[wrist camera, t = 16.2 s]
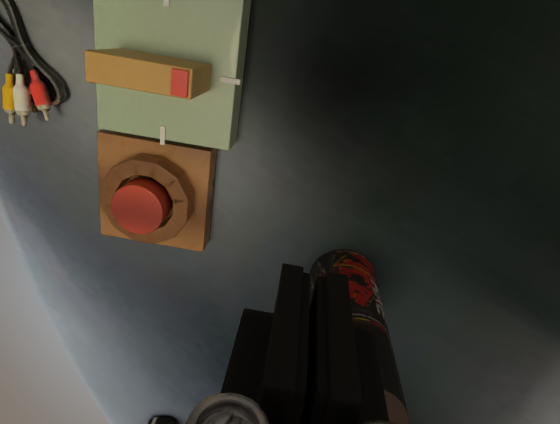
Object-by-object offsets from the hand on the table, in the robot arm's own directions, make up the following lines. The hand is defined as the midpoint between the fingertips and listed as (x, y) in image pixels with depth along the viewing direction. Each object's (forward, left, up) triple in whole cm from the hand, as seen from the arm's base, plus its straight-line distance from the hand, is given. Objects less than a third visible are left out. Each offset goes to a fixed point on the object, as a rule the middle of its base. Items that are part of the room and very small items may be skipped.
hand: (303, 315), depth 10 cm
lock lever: (-3, -11, -20) cm, 23 cm away
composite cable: (-2, -23, -23) cm, 33 cm away
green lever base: (-4, -11, -23) cm, 26 cm away
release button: (+7, -12, -20) cm, 24 cm away
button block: (+7, -12, -23) cm, 27 cm away
